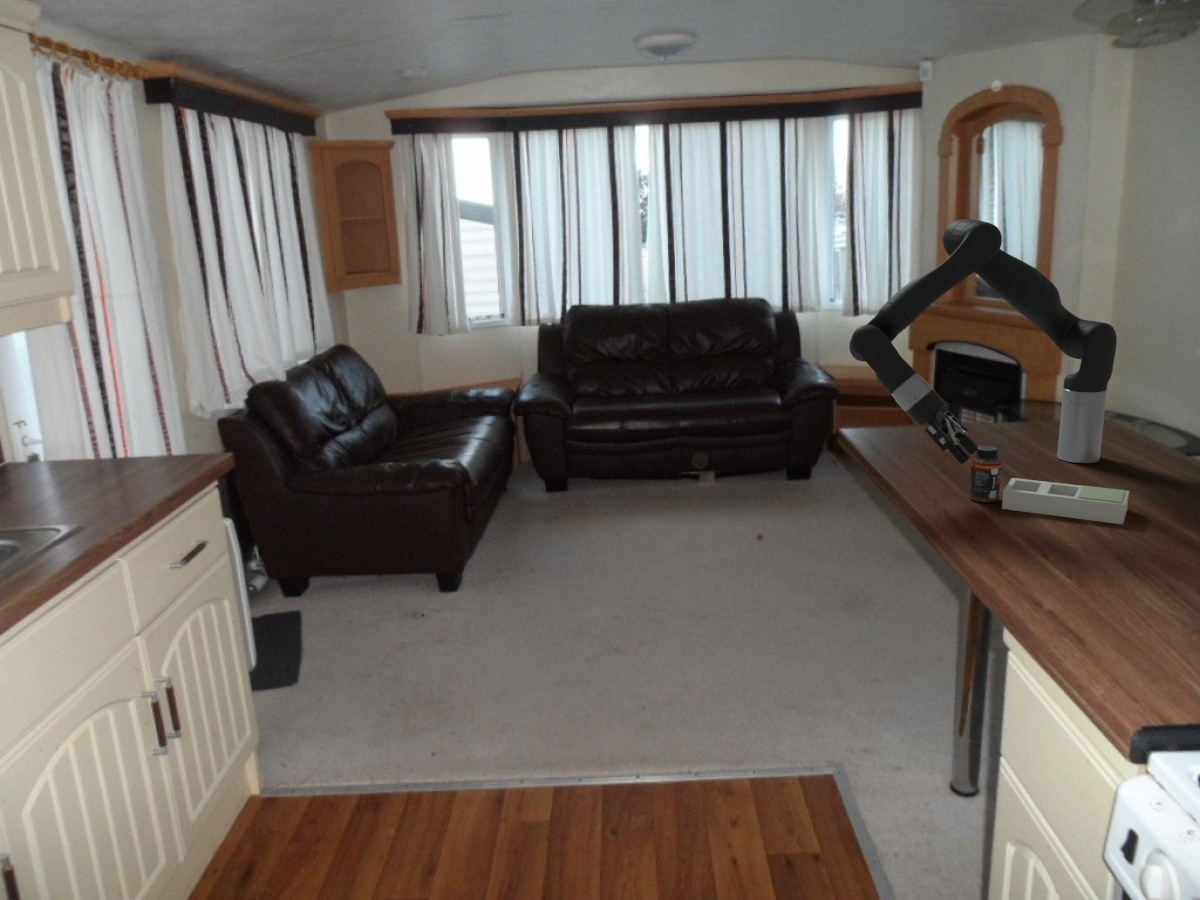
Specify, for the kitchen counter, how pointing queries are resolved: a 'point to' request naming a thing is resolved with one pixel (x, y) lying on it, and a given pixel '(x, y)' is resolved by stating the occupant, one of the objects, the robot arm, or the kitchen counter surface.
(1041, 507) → the board
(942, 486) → the kitchen counter surface
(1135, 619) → the kitchen counter surface
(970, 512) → the kitchen counter surface
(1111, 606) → the kitchen counter surface
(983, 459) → the supplement bottle
